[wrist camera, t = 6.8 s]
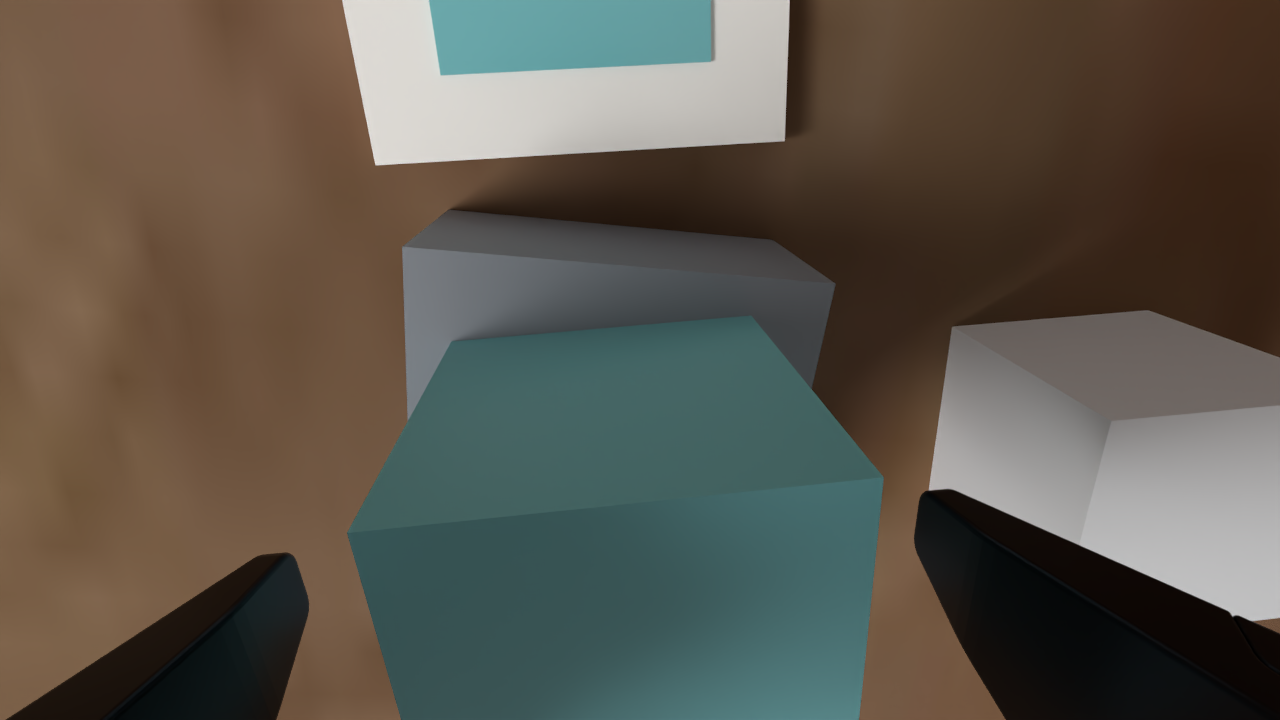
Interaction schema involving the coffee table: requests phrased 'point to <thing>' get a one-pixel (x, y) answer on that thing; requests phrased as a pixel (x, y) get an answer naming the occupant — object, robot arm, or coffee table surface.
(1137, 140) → the coffee table surface
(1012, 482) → the white block
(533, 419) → the teal block
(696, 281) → the slate base block
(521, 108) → the tile
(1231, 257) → the coffee table surface
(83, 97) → the coffee table surface
